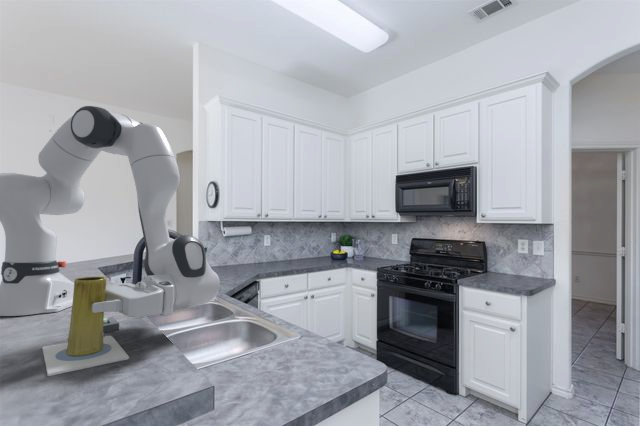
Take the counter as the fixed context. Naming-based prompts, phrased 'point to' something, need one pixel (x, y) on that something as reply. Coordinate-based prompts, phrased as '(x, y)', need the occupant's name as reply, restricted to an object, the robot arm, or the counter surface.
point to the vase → (86, 317)
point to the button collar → (111, 325)
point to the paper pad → (81, 357)
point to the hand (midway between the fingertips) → (83, 303)
